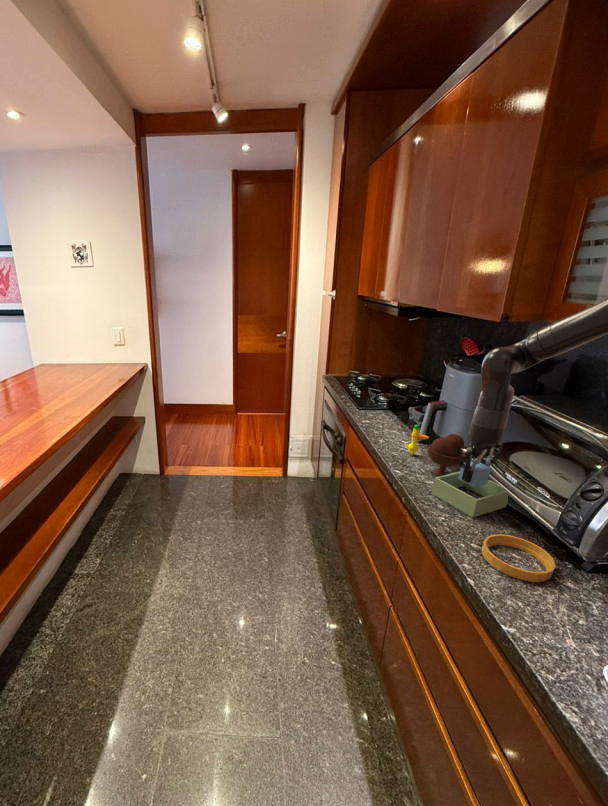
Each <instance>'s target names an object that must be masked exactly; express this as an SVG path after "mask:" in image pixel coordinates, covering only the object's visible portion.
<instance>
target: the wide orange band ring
mask: <svg viewBox="0 0 608 806" xmlns="http://www.w3.org/2000/svg"><path fill="white" fill-rule="evenodd" d="M494 546H507V547H512V548H515V549H518V550H520V551H523V552H526V553H527V554H529V555H531V556H533V557H534V558H536V560H538V561H539V562H540V563H541V564H542V565H543V567H544V569H545V571H533V570H526V569H523V568H519V567H516V566H514V565H511V564H509V563H507V562H504V561H503V560H502V559H500V558H498V557H497V556H496V555H494V553H492V552H491V550H490V548H491V547H494ZM481 554H482V556H483V558H484V559H485V561H486V562H487V563H488V564H489V565H491V566H492V567H493V568H495V569H496V570H497V571H498V572H501V573H503V574H505V575H507V576H509V577H511V578H514V579H517V580H521V581H525V582H532V583H542V582H546V581H548V580H550V579H551V577H552V576H553V574H554V572H555V569H556V565H557V564H556V561H555V559H554V558H553V557H552V556H551V554H550V553H549V552H547V550H545V549H544V548H542V547H541V546H539V545H537V544H535V543H534V542H531V541H529V540H527V539H524V538H521V537H518V536H514V535H509V534H503V533H502V534H501V533H500V534H498V533H497V534H492V535H488V536H486V537H485V538H484V540H483V543H482V546H481Z"/></svg>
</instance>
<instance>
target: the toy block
mask: <svg viewBox="0 0 608 806" xmlns="http://www.w3.org/2000/svg"><path fill="white" fill-rule="evenodd" d="M471 465H472V462H471V463H470V466H471ZM463 471H464V468H461V467H460V469H459V472H460V473H459V477H458V479H459V480H461V481H463V480H462V475H463ZM491 472H492V467H491V466H490V467H489V466H487V465H484V464H482V463H479V464H477V465H476V467H475V468H474V470H473V475H472V478H471V482H468V483H467V482H465V481H463V482H465V483H467V484H469V485H471V486H473V487H476V486H480V485H484V484H487V482H488V480H489V478H490V475H491Z"/></svg>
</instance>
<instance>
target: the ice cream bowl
mask: <svg viewBox="0 0 608 806" xmlns="http://www.w3.org/2000/svg"><path fill="white" fill-rule="evenodd" d="M464 447H465V441H464V438H463V437H462V436H461V435H460V434H457V433H450V434H447V435H445V437H444V436H441V437H439V438H436V439H434V440H433V441H432V443H429V444H428V446H427V455H428V458H430V460H432V461H433V462H434V463H435V464H436V465H438V466H439V470H434V471H433V474H432V475H434V476H435V477H440V476H444V475H448V474H449V473H447V471H446V469H447V468H449V467H453V466H459V455H460V449H461V448H464ZM464 449H465V448H464Z"/></svg>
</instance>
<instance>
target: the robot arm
mask: <svg viewBox="0 0 608 806" xmlns="http://www.w3.org/2000/svg"><path fill="white" fill-rule="evenodd" d="M605 335H608V299H605V300H603V301H601V302H599V303H596V304H594V305H592V306H589V307H587V308H583V309H581V310H578V311H577V312H574V313H572V314H571V313H570V314H569V315H567V316H564V317H562V318H560V319H557V320H556V321H553V322H552V323H549V324H547V325H545V326H543V327H540V328H539V329H537V330H535V331H533V332H531V333H530V334H529V335H527V337H526V338H524V339H522V340H519V341H518V342H516V343H513V344H511V345H506V346H499V347H494V348H492V349H491V350H489V351H488V352H487V353H486V355H485V356H484V358H483V361H482V363H481V370H480V385H481V390H480V393H479V397H478V401H477V403H476V404H477V405H476V407H475V409H474V412H473V415H472V420H471V423H470V427H469V431H468V438H469V439H470V440H471V441H470V443H469V445H468V447H466V448H461V449H460V455H459V464H458V467H460V469H461V468H464V471H463V475H462V480H463V481H465V482H467V483H468V482H471V478H472V475H473V470H474V468H475V467H476V465H477V464H479V463H482V464H484V465H487V466H489V467H491V465H492V464H493V465H494V464H496V462H497V460H498V458H499V456H500V453H501V451H502V449H503V447H504V444H503V443H501V442H502V440H503V436H504V433H505V430H506V428H507V424H508V420H509V415H510V409H511V406H512V402H513V399H514V395H515V388H514V387H513V386H512V385H510V383H511V376H512V375H515V374H517V373H520V372H523V371H525V370H528V369H529V368H531V367H533V366H535V365H538V364H540V363H541V362H543V361H546V360H548V359H551V358H554V357H557V356H559V355H561V354H564V353H567V352H569V351H572V350H573V349H576V348H578V347H581V346H583V345H586V344H588V343H590V342H592V341H594V340H596V339H599V338H601V337H603V336H605ZM471 462H472V465H471V466H470V463H471Z"/></svg>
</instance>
